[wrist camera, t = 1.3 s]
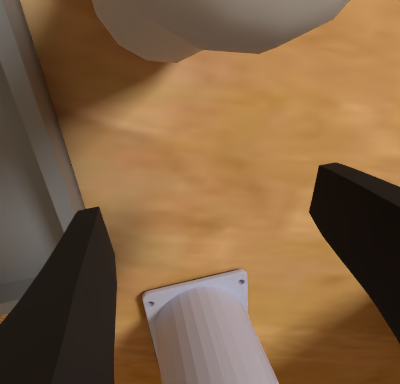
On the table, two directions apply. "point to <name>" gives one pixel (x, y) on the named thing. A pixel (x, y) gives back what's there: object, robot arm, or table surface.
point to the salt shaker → (209, 24)
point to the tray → (28, 163)
